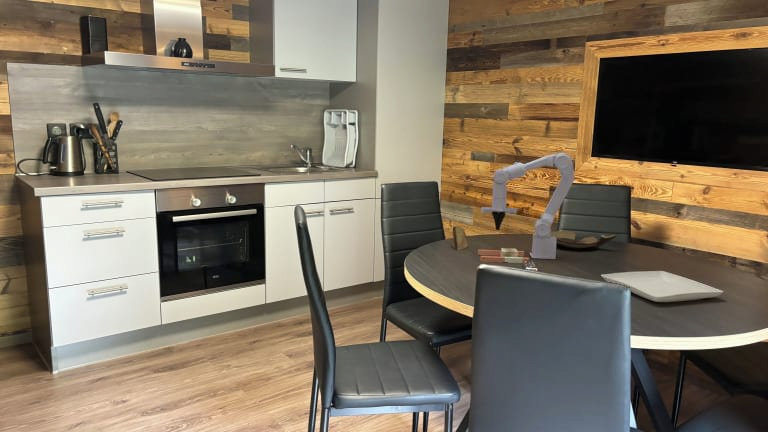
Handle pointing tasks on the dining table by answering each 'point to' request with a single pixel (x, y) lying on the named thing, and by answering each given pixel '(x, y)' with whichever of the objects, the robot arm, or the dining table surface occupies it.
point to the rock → (459, 238)
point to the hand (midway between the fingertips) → (497, 229)
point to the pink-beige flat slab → (501, 259)
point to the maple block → (509, 252)
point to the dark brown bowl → (569, 238)
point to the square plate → (662, 286)
